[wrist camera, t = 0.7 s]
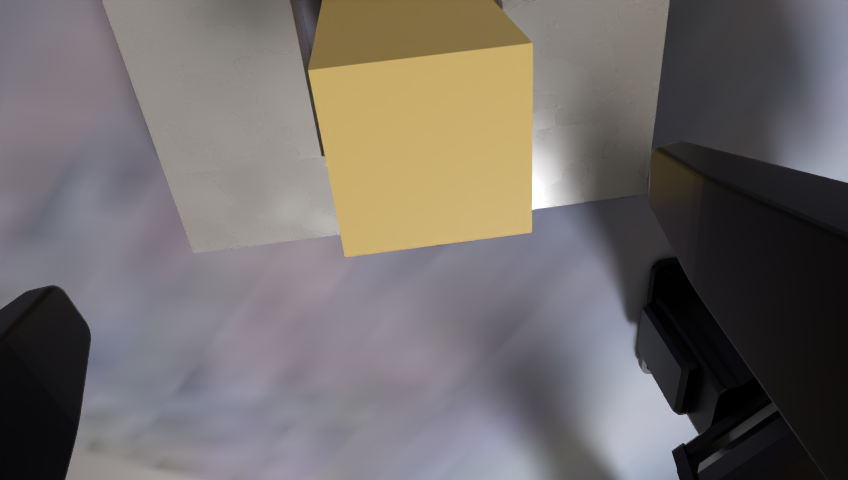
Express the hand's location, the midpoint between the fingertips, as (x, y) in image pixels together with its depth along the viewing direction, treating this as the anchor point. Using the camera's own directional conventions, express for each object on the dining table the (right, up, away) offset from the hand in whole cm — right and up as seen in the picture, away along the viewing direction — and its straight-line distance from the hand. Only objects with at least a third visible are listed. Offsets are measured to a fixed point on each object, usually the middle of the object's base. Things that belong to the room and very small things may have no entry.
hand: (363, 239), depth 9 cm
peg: (0, +7, +11) cm, 13 cm away
